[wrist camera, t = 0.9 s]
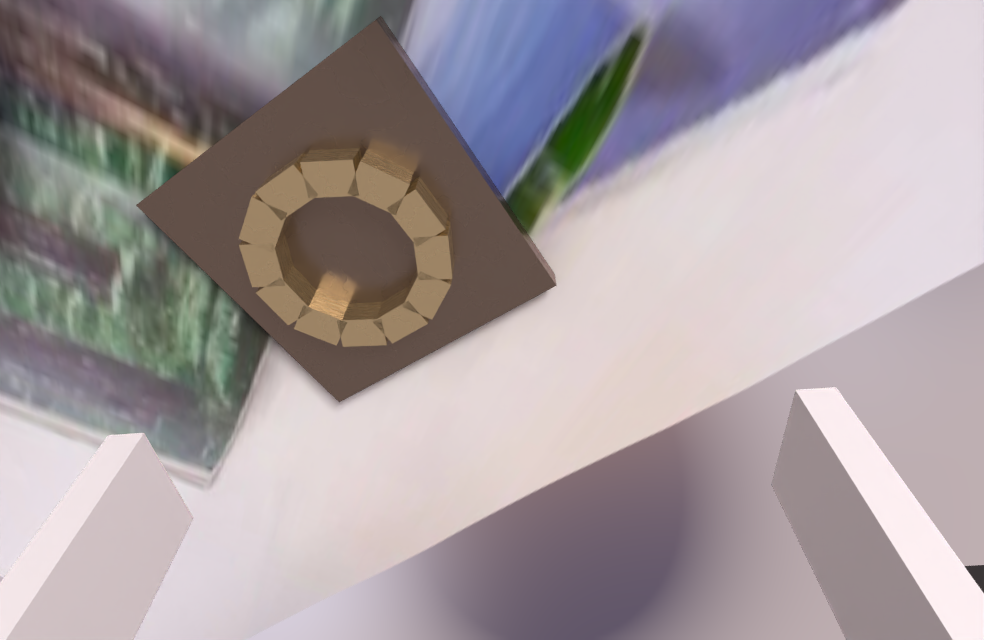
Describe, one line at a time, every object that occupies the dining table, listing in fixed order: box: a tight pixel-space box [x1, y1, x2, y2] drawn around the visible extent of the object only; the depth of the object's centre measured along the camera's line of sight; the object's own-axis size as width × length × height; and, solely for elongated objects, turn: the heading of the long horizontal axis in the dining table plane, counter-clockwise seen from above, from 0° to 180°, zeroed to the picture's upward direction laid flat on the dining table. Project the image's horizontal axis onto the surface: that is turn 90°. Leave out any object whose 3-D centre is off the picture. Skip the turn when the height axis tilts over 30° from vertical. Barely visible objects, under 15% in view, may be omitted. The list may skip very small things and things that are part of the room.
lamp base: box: [136, 16, 556, 402], centre depth 36 cm, size 18×18×4 cm
